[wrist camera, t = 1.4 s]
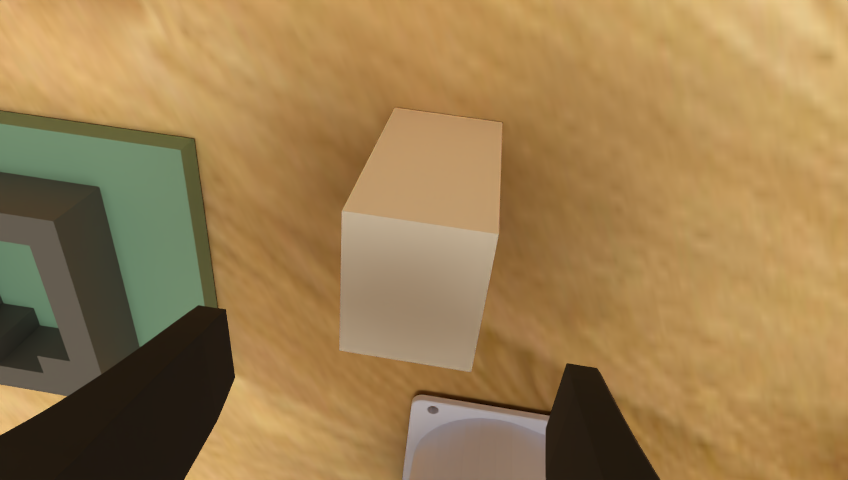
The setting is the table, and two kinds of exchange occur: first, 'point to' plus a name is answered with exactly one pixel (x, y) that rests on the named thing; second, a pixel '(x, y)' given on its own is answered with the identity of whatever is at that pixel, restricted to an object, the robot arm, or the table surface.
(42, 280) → the header board
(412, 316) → the keyed plug
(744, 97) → the table surface
